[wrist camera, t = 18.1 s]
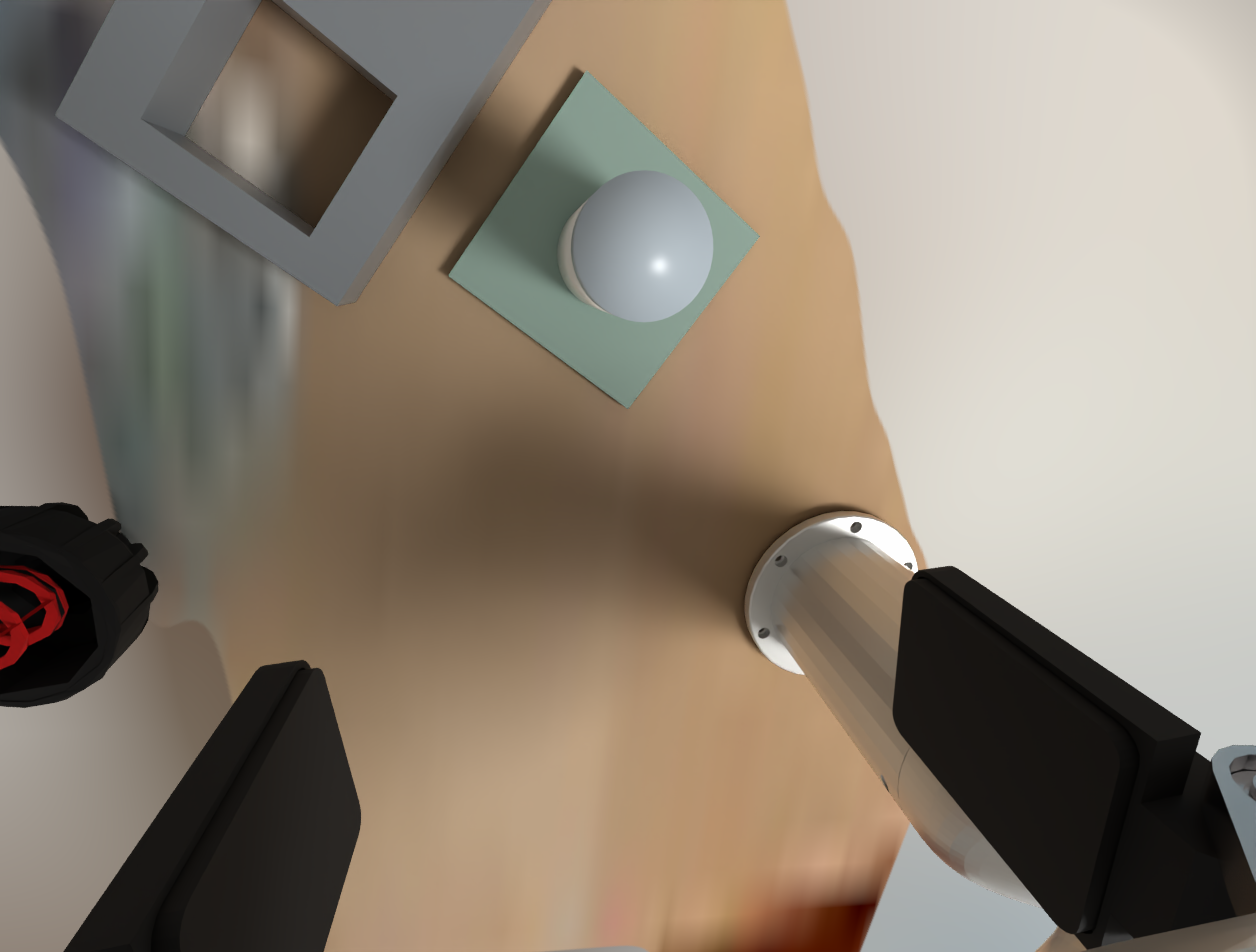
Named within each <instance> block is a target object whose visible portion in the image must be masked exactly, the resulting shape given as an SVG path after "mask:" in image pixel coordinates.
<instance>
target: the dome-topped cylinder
mask: <svg viewBox="0 0 1256 952" xmlns="http://www.w3.org/2000/svg"><path fill="white" fill-rule="evenodd" d="M712 258H713V235H712V229H711V225H710V221H709V218H708V216H707V213H706V211H705V209H704V207H703V206H702V204H701V202H700V201H699V199H698V198H697V197H696V195H695V194H694V193H693V192H692V191H691V190H690V189H689V188H688V187H687V186H686V185H684V184H683V183H682V182H680V181H679V180H677V179H675V178H674V177H671V176H669V175H667V174H664V173H660V172H656V171H648V170H641V171H632V172H627V173H624V174H621V175H619V176H617V177H615V178H613V179H611V180H609V181H608V182H606V183H605V184H604V185H602V186H601V187H600V188H599V189H598V190H597V191H596V192H595V193H594V194H593V195H592V196H591V197H590V198H589V199H588V200H587V201H586V202H585V203H584V204H583V205H581V206H580V207H579V208H578V209H577V210H576V211H575V212H574V213H573V214H572V215H571V217H570V218H569V219H568V220H567V222H566V224H565V225H564V227H563V229H562V232H561V234H560V237H559V241H558V248H557V259H558V266H559V270H560V273H561V276H562V278H563V280H564V282H565V284H566V286H567V287H568V289H569V290H570V291H571V292H572V293H573V295H574V296H576V297H577V298H578V299H579V300H580V301H582V302H583V303H585V304H587V305H589V306H591V307H593V308H596V309H599V310H601V311H604V312H606V313H609V314H612V315H614V316H617V317H620V318H622V319H625V320H629V321H634V322H654V321H658V320H662V319H665V318H668V317H670V316H672V315H674V314H676V313H678V312H679V311H681V310H682V309H684V308H685V307H686V306H687V305H688V304H689V303H690V302H692V300H693V299H694V298H695V297H696V296H697V295H698V293H699V292H700V290H701V289H702V287H703V285H704V283H705V281H706V279H707V277H708V274H709V271H710V268H711V263H712Z"/></svg>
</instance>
